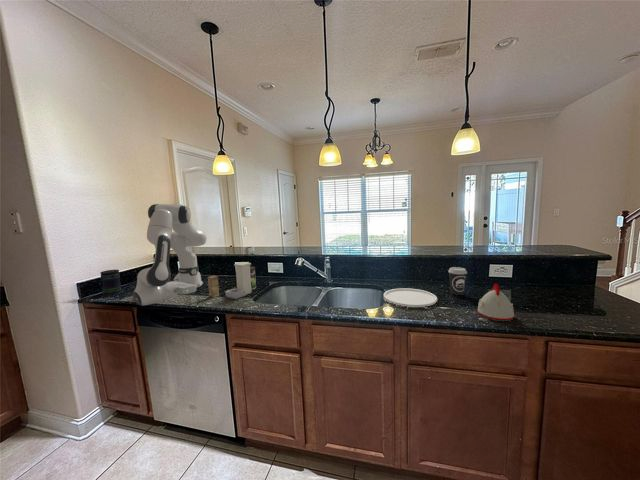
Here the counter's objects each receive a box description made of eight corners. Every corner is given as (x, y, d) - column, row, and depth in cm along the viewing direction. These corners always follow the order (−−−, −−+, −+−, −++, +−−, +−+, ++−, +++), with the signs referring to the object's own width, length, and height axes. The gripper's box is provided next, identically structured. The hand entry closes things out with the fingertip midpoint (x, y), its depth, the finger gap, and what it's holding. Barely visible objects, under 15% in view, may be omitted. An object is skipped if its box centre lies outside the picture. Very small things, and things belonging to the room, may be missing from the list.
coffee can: (258, 286, 180) (257, 266, 179) (252, 290, 170) (250, 269, 169) (244, 285, 183) (243, 265, 181) (237, 290, 173) (235, 269, 171)
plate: (398, 312, 129) (398, 307, 129) (375, 294, 157) (375, 290, 156) (448, 306, 135) (449, 301, 135) (418, 290, 162) (418, 286, 162)
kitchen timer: (480, 319, 117) (481, 287, 115) (474, 308, 130) (475, 279, 128) (518, 323, 112) (520, 289, 110) (508, 311, 125) (510, 281, 123)
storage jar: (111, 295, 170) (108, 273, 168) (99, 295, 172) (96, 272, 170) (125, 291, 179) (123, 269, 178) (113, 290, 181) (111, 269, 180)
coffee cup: (468, 293, 152) (469, 268, 150) (463, 298, 145) (464, 271, 143) (450, 290, 158) (451, 266, 157) (445, 294, 151) (446, 269, 150)
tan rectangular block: (209, 296, 162) (207, 277, 161) (215, 294, 166) (213, 275, 164) (213, 297, 160) (211, 278, 158) (219, 295, 163) (218, 276, 162)
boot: (225, 297, 160) (223, 266, 157) (244, 290, 172) (242, 261, 169) (235, 299, 155) (233, 267, 153) (253, 292, 167) (252, 263, 165)
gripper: (180, 286, 134) (204, 280, 145) (159, 282, 145) (184, 276, 156) (181, 298, 134) (205, 291, 146) (160, 293, 145) (184, 287, 157)
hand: (194, 283), depth 151 cm, fingers open, 8 cm apart
